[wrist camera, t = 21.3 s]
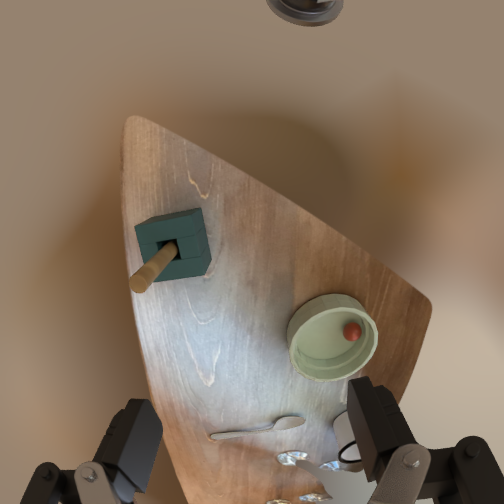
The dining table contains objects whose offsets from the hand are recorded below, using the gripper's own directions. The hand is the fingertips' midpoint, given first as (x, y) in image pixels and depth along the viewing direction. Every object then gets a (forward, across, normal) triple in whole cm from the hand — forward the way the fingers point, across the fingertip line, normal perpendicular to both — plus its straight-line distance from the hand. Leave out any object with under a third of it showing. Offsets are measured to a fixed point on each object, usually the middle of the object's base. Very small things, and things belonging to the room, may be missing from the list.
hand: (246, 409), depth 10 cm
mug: (+30, -14, +43) cm, 54 cm away
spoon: (+30, +6, +39) cm, 50 cm away
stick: (+30, +10, -1) cm, 32 cm away
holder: (+30, +10, -1) cm, 32 cm away
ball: (+28, -12, +17) cm, 35 cm away
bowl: (+30, -9, +17) cm, 36 cm away
